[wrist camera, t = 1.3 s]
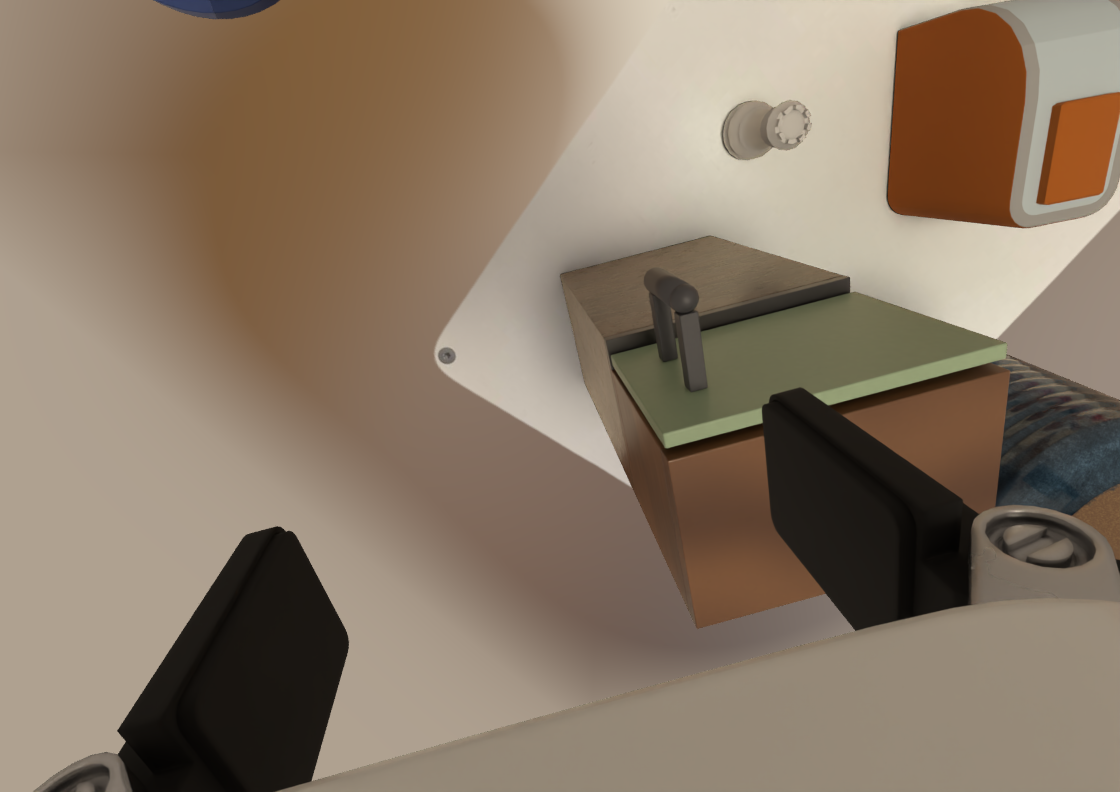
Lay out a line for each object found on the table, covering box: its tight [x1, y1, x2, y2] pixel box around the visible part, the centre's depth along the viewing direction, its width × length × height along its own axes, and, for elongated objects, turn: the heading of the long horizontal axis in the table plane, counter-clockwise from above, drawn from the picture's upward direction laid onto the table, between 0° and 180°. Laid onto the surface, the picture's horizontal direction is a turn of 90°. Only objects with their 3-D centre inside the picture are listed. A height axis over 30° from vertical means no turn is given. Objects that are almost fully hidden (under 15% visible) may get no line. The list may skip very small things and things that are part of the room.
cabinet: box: [560, 236, 1010, 629], centre depth 37 cm, size 11×14×31 cm
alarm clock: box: [888, 0, 1120, 228], centre depth 42 cm, size 15×8×14 cm, turn 10°
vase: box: [991, 354, 1120, 560], centre depth 42 cm, size 16×16×32 cm
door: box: [611, 267, 1007, 448], centre depth 25 cm, size 5×14×10 cm, turn 103°
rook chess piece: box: [723, 100, 812, 160], centre depth 43 cm, size 4×4×8 cm
